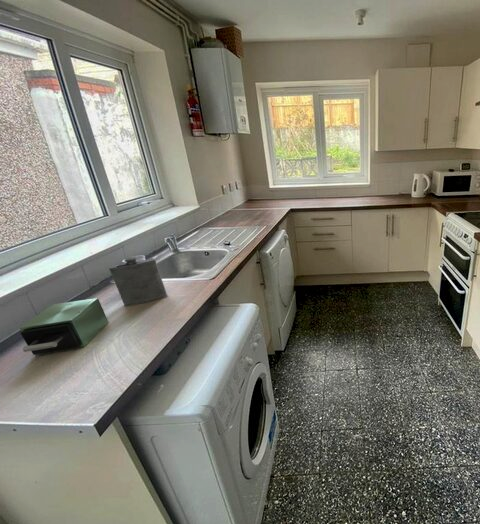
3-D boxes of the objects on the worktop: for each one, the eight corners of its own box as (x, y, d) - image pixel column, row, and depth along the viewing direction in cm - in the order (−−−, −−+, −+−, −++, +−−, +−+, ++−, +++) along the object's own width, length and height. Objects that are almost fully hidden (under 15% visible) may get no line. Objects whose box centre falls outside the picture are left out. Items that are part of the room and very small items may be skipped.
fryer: (84, 346, 86) (71, 320, 83) (35, 355, 84) (19, 327, 80) (108, 322, 99) (98, 297, 95) (66, 328, 96) (53, 304, 92)
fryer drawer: (69, 356, 81) (57, 334, 78) (21, 365, 79) (6, 342, 76) (102, 324, 96) (92, 303, 93) (62, 330, 94) (51, 309, 91)
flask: (166, 297, 113) (152, 255, 106) (123, 307, 107) (104, 263, 101) (167, 294, 116) (153, 252, 109) (125, 303, 111) (107, 260, 104)
